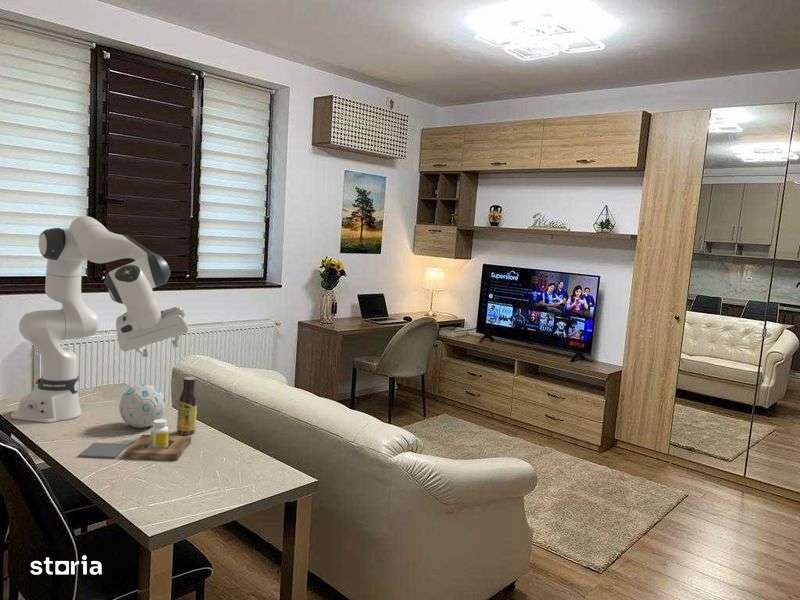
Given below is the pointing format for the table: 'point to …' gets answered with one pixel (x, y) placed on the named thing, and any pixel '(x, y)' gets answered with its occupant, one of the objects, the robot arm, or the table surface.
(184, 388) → the sauce bottle
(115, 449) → the rubber mat
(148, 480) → the table surface
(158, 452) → the socket block
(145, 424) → the puzzle ball
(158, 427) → the supplement bottle
